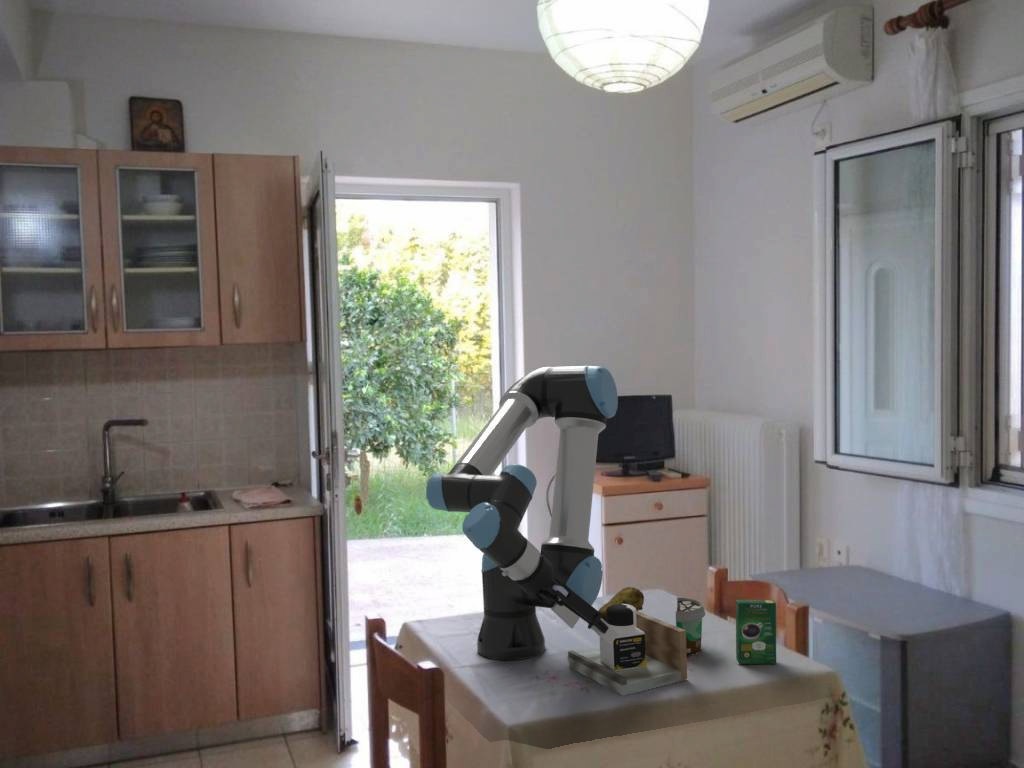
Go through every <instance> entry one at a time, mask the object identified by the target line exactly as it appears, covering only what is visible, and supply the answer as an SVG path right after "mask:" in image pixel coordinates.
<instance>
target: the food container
mask: <svg viewBox="0 0 1024 768" xmlns="http://www.w3.org/2000/svg"><path fill="white" fill-rule="evenodd" d="M676 603H677V606H676V611H675V626H676V627H679V628H681V629H684V630H686V653H687V655H691V656H693V655H692V654H695V655H697V654H696V653H698V652H699V653H700V652H701V651H702V632H703V630H702V629H703V618H704V617H705V616H706V611H705V607H704V606H703V603H702V602H701V601H700V600H697V599H694V598H688V597H679V596H678V597H676ZM699 653H698V654H699Z"/></svg>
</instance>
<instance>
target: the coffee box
mask: <svg viewBox="0 0 1024 768" xmlns="http://www.w3.org/2000/svg"><path fill="white" fill-rule="evenodd" d="M735 606H736V607H735V610H736V611H735V645H736V646H735V656H736V662H737V661H738V663H739V664H738V663H737V664H738V665H746V664H749V665H777V602H775V601H774V600H773V599H736V600H735Z"/></svg>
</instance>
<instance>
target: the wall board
mask: <svg viewBox="0 0 1024 768" xmlns="http://www.w3.org/2000/svg"><path fill="white" fill-rule="evenodd" d="M636 623H637V626H636V628H638V629H640V630H641V631H643V632H644V633H645V649H646V666H645V667H641V668H635V669H628V670H622V671H616V672H615V671H613V670H612V669H611V668H609V667H608V666H607V665H605V664H604V663H603V662H601V660H600V649H599V650H598V649H597V650H594V651H588V652H584V653H579V652H576V651H574V650H568V651H567V659H568V661H567V663H568V664H567V665H568V667H569V668H571V669H573V670H575V671H577V672H578V673H580V674H582V675H584V676H586V677H587V678H589V679H591V680H593V681H595V682H596V681H597V682H596V683H598V684H601V685H602V686H604V687H606V688H607V689H609V690H611V691H612V692H615V693H617V694H619V695H620V696H623V697H624V696H629V695H632V694H637V693H640V692H644V690H645V691H649V690H653V689H656V687H657V688H660V686H661V687H664V685H665V686H668V684H669V685H672V683H673V684H676V683H675V682H677V683H680V682H679V681H681V682H684V681H683V680H685V681H687V680H688V659H687V657H688V656H687V653H686V630H684V629H681V628H679V627H676V625H673V624H671V623H669V622H666V621H664V620H661V619H659V618H655V617H653V616H651V615H649V614H645V613H644V612H642V611H640V610H638V611H636ZM686 679H687V680H686ZM652 688H653V689H652ZM648 689H649V690H648Z"/></svg>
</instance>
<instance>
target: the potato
mask: <svg viewBox="0 0 1024 768" xmlns="http://www.w3.org/2000/svg"><path fill="white" fill-rule="evenodd" d="M644 603H645V596H644V593H643V592H642V591H641V590H640V589H639V588H636V587H632V586H628V587H623V588H622V589H621V590H619V591H617V593H616V594H614V596H613V597H611V598H610V600H609V601H608V602H606V603H605V604H603V605H602V606H601V607H600V608H599V609H598V610H597V611H599V612H600V613H602V615H603V616H602V619H603V620H604V621H605V622H606V623H607V615H606V609H607V608H608V607H609V606H611V605H614V604H628V605H631V606H633V607H635V609H636V611H643V609H644V608H643V606H644Z"/></svg>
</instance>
